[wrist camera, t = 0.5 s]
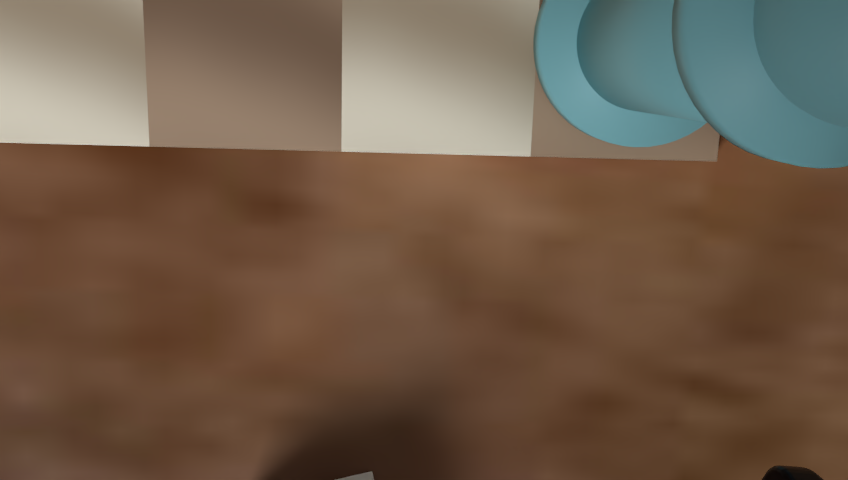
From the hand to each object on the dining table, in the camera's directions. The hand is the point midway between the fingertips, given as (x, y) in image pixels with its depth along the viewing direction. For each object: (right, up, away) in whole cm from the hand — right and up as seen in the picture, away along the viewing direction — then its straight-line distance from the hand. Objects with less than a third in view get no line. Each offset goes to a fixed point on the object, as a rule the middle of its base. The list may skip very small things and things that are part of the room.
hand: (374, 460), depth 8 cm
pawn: (+6, +7, +11) cm, 15 cm away
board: (-2, +8, +12) cm, 14 cm away
